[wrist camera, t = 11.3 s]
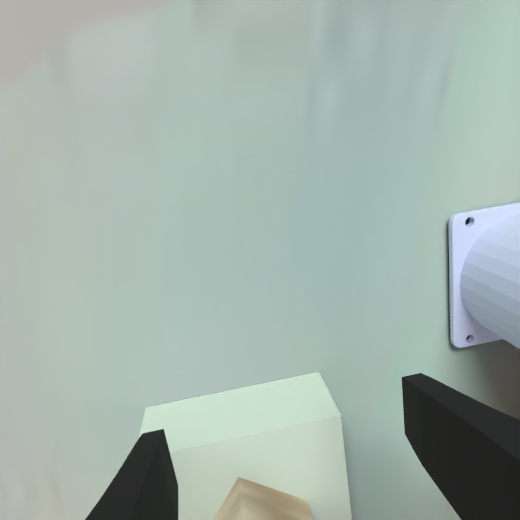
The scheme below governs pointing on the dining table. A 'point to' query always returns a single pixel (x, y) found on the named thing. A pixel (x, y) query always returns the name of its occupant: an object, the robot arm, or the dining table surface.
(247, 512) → the maple block
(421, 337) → the dining table surface
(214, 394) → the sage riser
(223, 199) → the dining table surface
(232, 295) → the dining table surface
